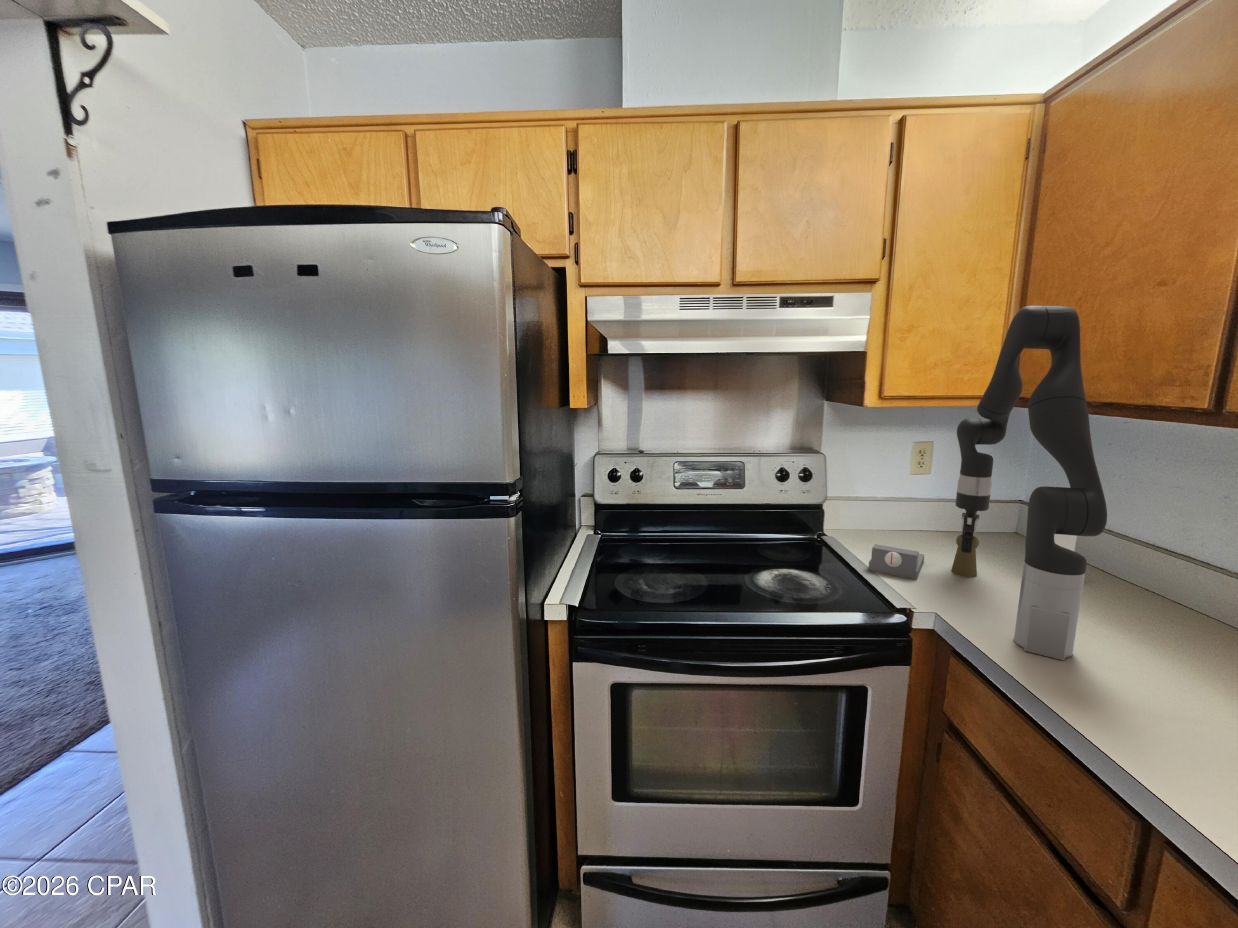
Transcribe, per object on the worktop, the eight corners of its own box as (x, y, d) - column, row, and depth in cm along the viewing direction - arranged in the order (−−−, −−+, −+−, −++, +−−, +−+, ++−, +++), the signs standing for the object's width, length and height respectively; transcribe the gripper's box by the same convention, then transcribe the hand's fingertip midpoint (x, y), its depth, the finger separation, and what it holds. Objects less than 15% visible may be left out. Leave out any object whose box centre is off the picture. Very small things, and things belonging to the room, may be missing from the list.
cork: (952, 574, 139) (956, 537, 137) (949, 567, 144) (953, 531, 142) (978, 578, 136) (983, 540, 134) (975, 571, 142) (979, 533, 140)
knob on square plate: (916, 580, 136) (918, 556, 134) (868, 570, 143) (869, 547, 141) (923, 562, 149) (925, 540, 147) (879, 554, 156) (880, 533, 154)
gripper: (990, 498, 128) (982, 558, 131) (991, 488, 140) (984, 543, 143) (955, 494, 133) (948, 552, 136) (958, 484, 144) (952, 538, 147)
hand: (966, 547), depth 139 cm, fingers open, 8 cm apart
